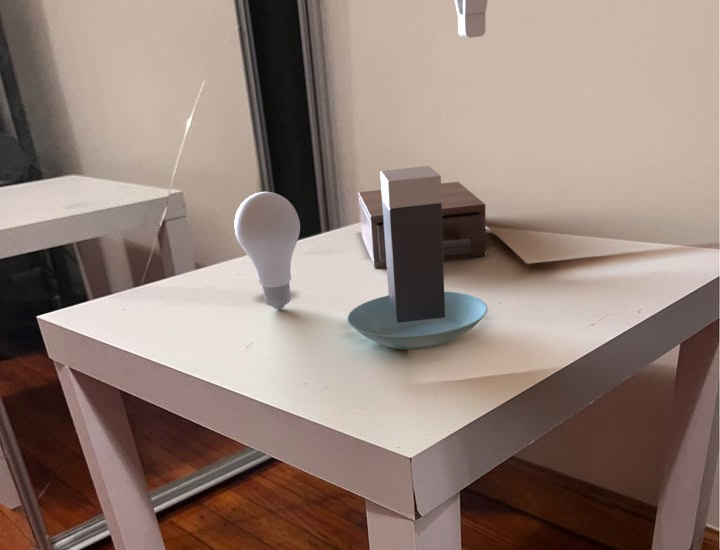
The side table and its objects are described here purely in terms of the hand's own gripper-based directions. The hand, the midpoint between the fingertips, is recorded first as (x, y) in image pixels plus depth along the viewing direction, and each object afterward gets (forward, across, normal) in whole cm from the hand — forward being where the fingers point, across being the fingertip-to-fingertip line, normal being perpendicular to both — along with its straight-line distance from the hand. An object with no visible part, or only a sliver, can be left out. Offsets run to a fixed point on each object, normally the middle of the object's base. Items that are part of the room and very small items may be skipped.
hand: (471, 37), depth 68 cm
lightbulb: (+22, -2, +20) cm, 30 cm away
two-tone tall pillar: (+19, -14, +8) cm, 26 cm away
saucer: (+22, -14, +8) cm, 27 cm away
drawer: (+21, +12, +3) cm, 24 cm away
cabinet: (+22, +16, +3) cm, 27 cm away
